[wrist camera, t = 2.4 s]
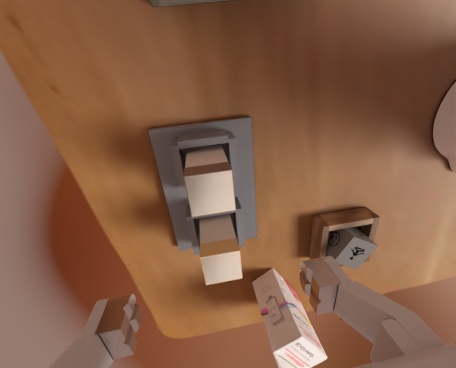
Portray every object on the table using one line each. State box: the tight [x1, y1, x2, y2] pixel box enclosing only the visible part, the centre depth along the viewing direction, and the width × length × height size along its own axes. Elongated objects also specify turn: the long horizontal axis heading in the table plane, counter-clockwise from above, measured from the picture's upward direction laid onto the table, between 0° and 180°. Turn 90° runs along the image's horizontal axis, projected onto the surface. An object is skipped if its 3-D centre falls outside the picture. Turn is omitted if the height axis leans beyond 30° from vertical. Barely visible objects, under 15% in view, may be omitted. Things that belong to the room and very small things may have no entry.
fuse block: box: [148, 116, 257, 255], centre depth 28 cm, size 12×18×4 cm, turn 6°
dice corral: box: [309, 207, 380, 266], centre depth 35 cm, size 9×9×3 cm
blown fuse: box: [183, 144, 236, 217], centre depth 23 cm, size 4×4×9 cm
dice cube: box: [326, 227, 378, 269], centre depth 35 cm, size 5×5×5 cm
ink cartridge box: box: [252, 268, 327, 368], centre depth 34 cm, size 9×5×15 cm, turn 38°
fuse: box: [199, 213, 243, 285], centre depth 27 cm, size 4×4×9 cm
